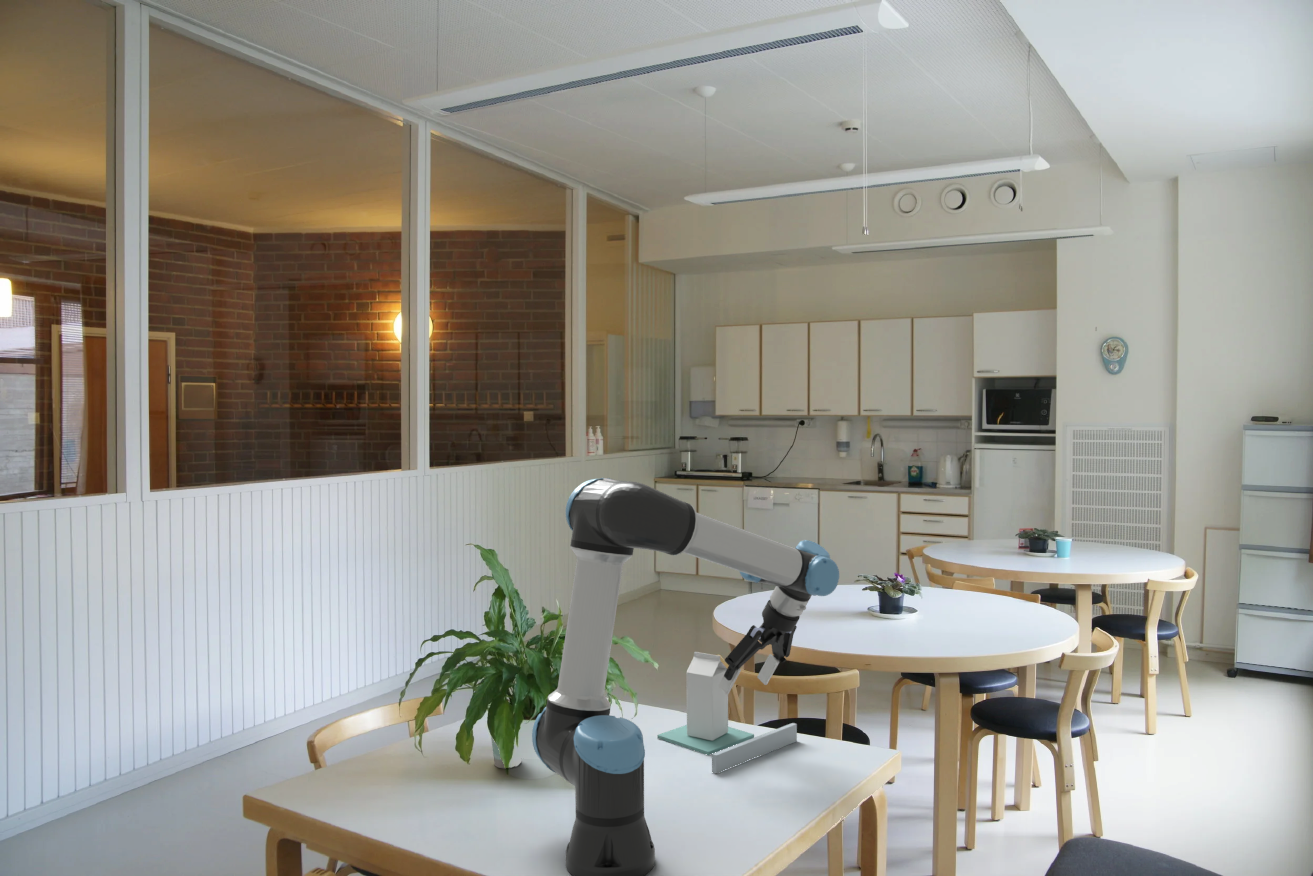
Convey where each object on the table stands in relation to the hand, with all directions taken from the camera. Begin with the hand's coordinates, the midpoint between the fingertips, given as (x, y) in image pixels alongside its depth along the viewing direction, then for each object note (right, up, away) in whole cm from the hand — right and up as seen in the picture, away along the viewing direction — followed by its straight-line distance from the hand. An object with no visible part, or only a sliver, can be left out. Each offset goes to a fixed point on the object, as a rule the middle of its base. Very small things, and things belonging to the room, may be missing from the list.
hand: (743, 685), depth 209 cm
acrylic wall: (+3, -16, +1) cm, 16 cm away
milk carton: (-7, -15, +13) cm, 21 cm away
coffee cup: (-51, -17, -2) cm, 54 cm away
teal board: (-8, -16, +13) cm, 22 cm away
